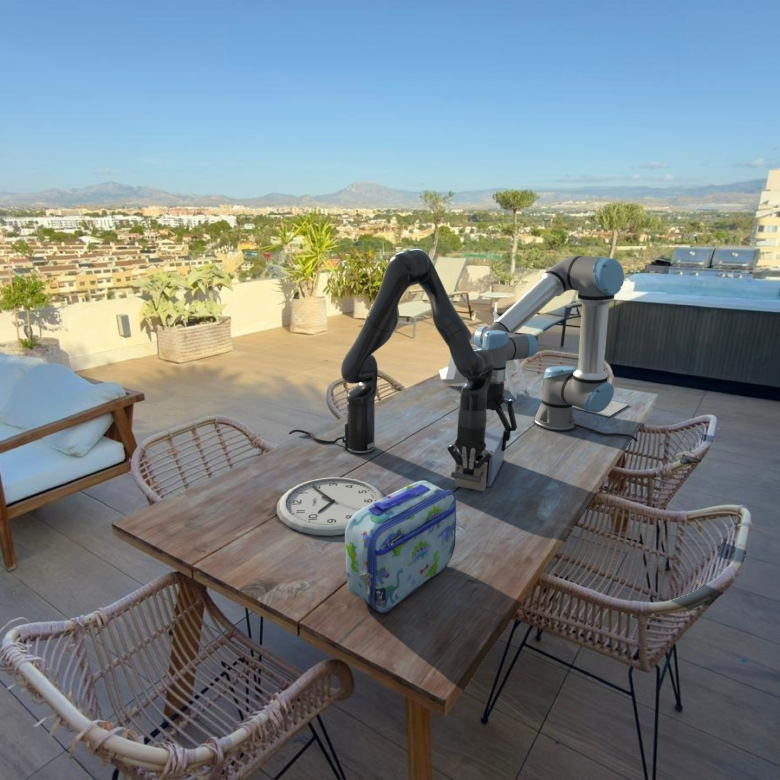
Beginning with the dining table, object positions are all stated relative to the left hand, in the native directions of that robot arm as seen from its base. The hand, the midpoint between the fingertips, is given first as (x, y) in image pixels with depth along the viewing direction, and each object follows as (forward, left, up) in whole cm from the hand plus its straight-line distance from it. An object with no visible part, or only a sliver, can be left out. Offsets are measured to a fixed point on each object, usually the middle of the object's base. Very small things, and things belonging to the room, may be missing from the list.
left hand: (468, 479), depth 148 cm
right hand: (+1, +25, 0) cm, 25 cm away
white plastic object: (-16, +99, -5) cm, 101 cm away
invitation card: (+37, +100, -5) cm, 106 cm away
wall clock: (-33, -19, -5) cm, 39 cm away
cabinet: (+1, +18, -5) cm, 19 cm away
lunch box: (-4, -43, -5) cm, 44 cm away
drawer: (0, +10, -4) cm, 11 cm away
